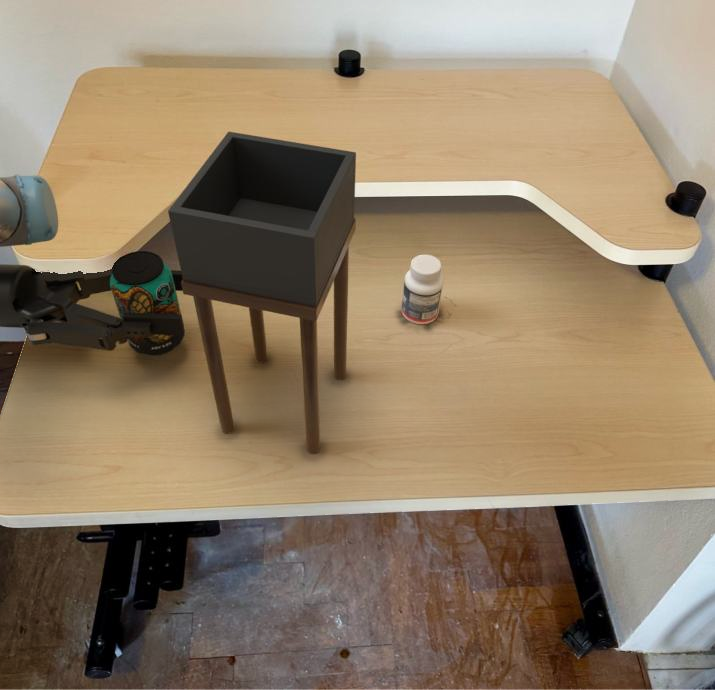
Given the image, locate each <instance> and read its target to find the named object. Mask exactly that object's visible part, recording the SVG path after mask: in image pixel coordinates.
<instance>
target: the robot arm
mask: <svg viewBox="0 0 715 690" xmlns="http://www.w3.org/2000/svg"><path fill="white" fill-rule="evenodd" d="M58 230H59V215H58V208H57V204H56V200H55V196H54V193H53V190H52V188H51V186H50V185H49V182H48V181H47V180H46V179H45V178H44V177H42V176H40V175H36V174H33V175H31V174H30V175H19V174H13V176H2V177H1V176H0V248H3V247H5V248H6V247H15V246H30V245H32V244H38V243H44V242H50V241H52V240H54V239H55V238H56V236H57V234H58V232H59V231H58ZM35 270H36V269H35V268H33V267H31V266H30V265H26V264H5V263H2V264H0V328H20V329H21V328H22V329H24V331H25V333H26V335H27V337H28V339H29V342H30V343H31V345H33V346H40V345H48V344H49V345H50V344H53V345H61V346H71V347H77V348H86V349H92V350H93V349H94V350H101V351H109V352H110V351H113V350H115V349H116V348H117V343H118V344H119V345H123V344H126V343H127V342H128V339H127V337H146V338H147V337H151V336H152V334H153V335H181V336H184V332H185V333H186V329H185V330H184V328H185V325H184V326H183V324H184V320H183V321H182V319H183V316H182V317H181V315H182V314H181V315H178V314H150V313H124V315H123V319H124V321H121V318H120V317H118V316H115V315H112V314H109V313H106V312H102V311H99V310H96V309H95V308H91V307H88V306H85V305H82V304H80V303H79V304H78V302H79V301H82V300H86V299H89V298H91V295H96V294H100V293H105V292H112V290H111V287H110V279H111V276H112V269H110V270H107V271H104V272H97V273H86V274H83V272H81V271H78V272H73V273H67V274H58V273H55V272H53V273H50V272H44V271H40V272H36V271H35ZM170 270H171V272H172V277H173V281H174V285H175V289H176V292H183V290H182V285H181V282H182V280H183V277H182V273H181V270H180V269H179V270H178V269H177V270H174V269H170ZM41 272H42V273H41ZM79 287H80V289H79ZM184 337H185V336H184Z"/></svg>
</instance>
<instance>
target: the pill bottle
mask: <svg viewBox="0 0 715 690" xmlns="http://www.w3.org/2000/svg"><path fill="white" fill-rule="evenodd" d="M441 272H442V262H441V261H440V259H439V258H438V257H436V256H434V255H431V254H419V255H416V256H415V257H413V258H412V260H411V262H410V267H409V270H408V271H407V272H406V273H405V276H404V281H403V289H402V299H401V313H402V315H403V317H404V318H405V319H406V320H407V321H408V322H410V323H413V324H418V325H427V324H430V323H432V322H434V321H435V320H437V318H438V316H439V313H440V306H441V298H442V293H443V289H444V288H443V287H444V276H443V275H442V273H441Z"/></svg>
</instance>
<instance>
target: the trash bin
mask: <svg viewBox="0 0 715 690" xmlns="http://www.w3.org/2000/svg"><path fill="white" fill-rule="evenodd" d="M356 163H357V152H355V151H350V150H343V149H338V148H333V147H332V148H331V147H326V146H319V145H314V144H309V143H308V144H307V143H302V142H295V141H289V140H283V139H277V138H271V137H265V136H258V135H252V134H247V133H240V132H234V131H228V132H227V133H226V134H225V136H224V137H223V138H222V139H221V140H220V142H219V143H218V145H216V147H215V148H214V150H213V151H212V152H211V154H210V155H209V156H208V157H207V159H206V160H205V162H204V163H203V164H202V166H201V167H200V168H199V169H198V171H197V172H196V174H195V175H194V176H193V177H192V178H191V180H190V181H189V183H187V185H186V187H184V189H183V191H182V192H181V193H180V194H179V196H178V197H177V198H176V200H175V201H174V202H173V204H172V205H171V206H170V207H169V208H168V210H167V213H168V218H169V222H170V226H171V231H172V236H173V240H174V245H175V249H176V254H177V258H178V263H179V267H180V271H181V273H182V277H183V280H184V281H189V282H194V283H199V284H204V285H209V286H214V287H219V288H224V289H229V290H234V291H239V292H244V293H249V294H254V295H259V296H264V297H269V298H274V299H278V300H283V301H288V302H293V303H298V304H303V305H308V306H313V307H316V306H317V304H318V302H319V299H320V297H321V295H322V292H323V290H324V288H325V285H326V283H327V281H328V279H329V276H330V274H331V272H332V269H333V267H334V265H335V262H336V260H337V258H338V256H339V253H340V251H341V249H342V246H343V244H344V242H345V240H346V237H347V235H348V233H349V230H350V228H351V226H352V223H353V221H354V218H355V206H356V205H355V201H356V199H355V198H356V167H357V164H356Z"/></svg>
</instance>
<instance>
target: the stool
mask: <svg viewBox="0 0 715 690" xmlns="http://www.w3.org/2000/svg"><path fill="white" fill-rule="evenodd" d="M356 223H357V218H355V217H354V221H353V223H352V226H351V228H350V230H349V233H348V235H347V237H346V240H345V242H344V244H343V246H342V249H341V251H340V253H339V256H338V258H337V260H336V262H335V265H334V267H333V269H332V272H331V274H330V276H329V279H328V281H327V283H326V285H325V288H324V290H323V292H322V295H321V297H320V299H319V302H318V304H317V306H316V307H313V306H308V305H303V304H298V303H293V302H288V301H283V300H278V299H274V298H269V297H264V296H259V295H254V294H249V293H244V292H239V291H234V290H229V289H224V288H219V287H214V286H209V285H204V284H199V283H194V282H189V281H184V280H182V282H181V285H182V290H183V291H182V294H183V295H187V296H191V297H193V302H194V306H195V311H196V316H197V321H198V326H199V331H200V336H201V339H202V344H203V345H202V346H203V350H204V354H205V359H206V360H205V361H206V363H207V369H208V373H209V378H210V383H211V388H212V393H213V397H214V402H215V406H216V411H217V416H218V417H217V418H218V421H219V426H220V430H221V432H222V433H223V434H231V433H233V432H234V431H235V427H236V426H235V421H234V416H233V411H232V410H233V409H232V404H231V399H230V394H229V388H228V383H227V378H226V377H227V376H226V373H225V372H226V371H225V367H224V361H223V355H222V350H221V344H220V340H219V334H218V333H219V332H218V329H217V323H216V318H215V313H214V307H213V302H212V301H214V302H220V303H225V304H230V305H235V306H239V307H245V308H248V311H249V313H248V314H249V318H250V328H251V335H252V342H253V350H254V358H255V361H256V362H258V363H265V362H267V361H268V358H269V357H268V355H269V354H268V348H267V346H268V345H267V337H266V328H265V320H264V319H265V318H264V312H268V313H274V314H279V315H283V316H289V317H293V318H297V319H299V333H300V336H299V337H300V350H301V351H300V353H301V356H300V357H301V368H302V369H301V371H302V374H301V375H302V390H303V391H302V392H303V394H302V395H303V407H304V408H303V411H304V429H305V449H306V451H307V452H308V453H309V454H311V455H315V454H317V453H319V451H320V450H321V433H320V432H321V430H320V429H321V428H320V392H319V391H320V390H319V353H318V352H319V350H318V349H319V347H318V319H319V317H320V314H321V313H322V309H323V307H324V306H325V302H326V300H327V298H328V295H329V293H330V291H331V288H332V286H333V378H335V379H336V380H338V381H340V380H341V381H342V380H344V379H346V377H347V354H348V351H347V349H348V312H349V310H348V309H349V308H348V307H349V304H348V303H349V267H350V266H349V265H350V264H349V262H350V261H349V260H350V244H351V242H352V240H353V237H354V235H355V232H356V229H357V228H356Z"/></svg>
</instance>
